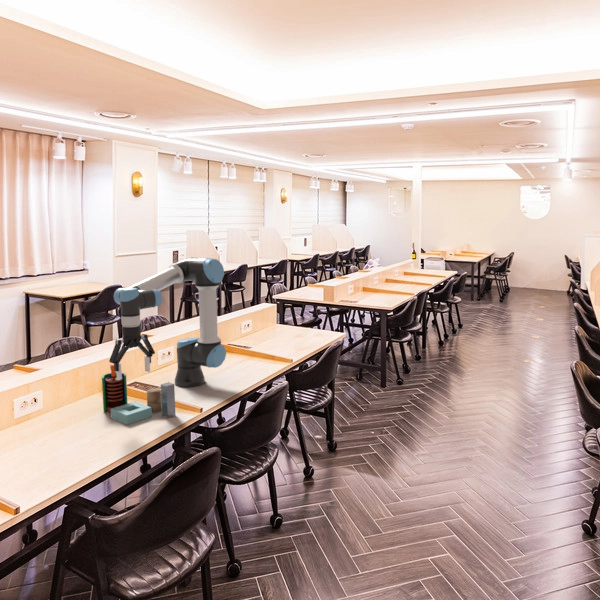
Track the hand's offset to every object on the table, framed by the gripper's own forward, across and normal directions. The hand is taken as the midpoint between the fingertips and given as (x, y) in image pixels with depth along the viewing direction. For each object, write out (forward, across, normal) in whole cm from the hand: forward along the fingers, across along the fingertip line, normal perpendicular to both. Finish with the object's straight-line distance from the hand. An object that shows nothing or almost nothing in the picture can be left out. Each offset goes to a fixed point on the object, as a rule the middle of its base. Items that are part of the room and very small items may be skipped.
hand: (133, 374), depth 226 cm
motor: (+19, +1, -15) cm, 24 cm away
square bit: (+19, -10, +10) cm, 23 cm away
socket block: (+18, +1, -1) cm, 19 cm away
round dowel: (+19, -10, 0) cm, 21 cm away
